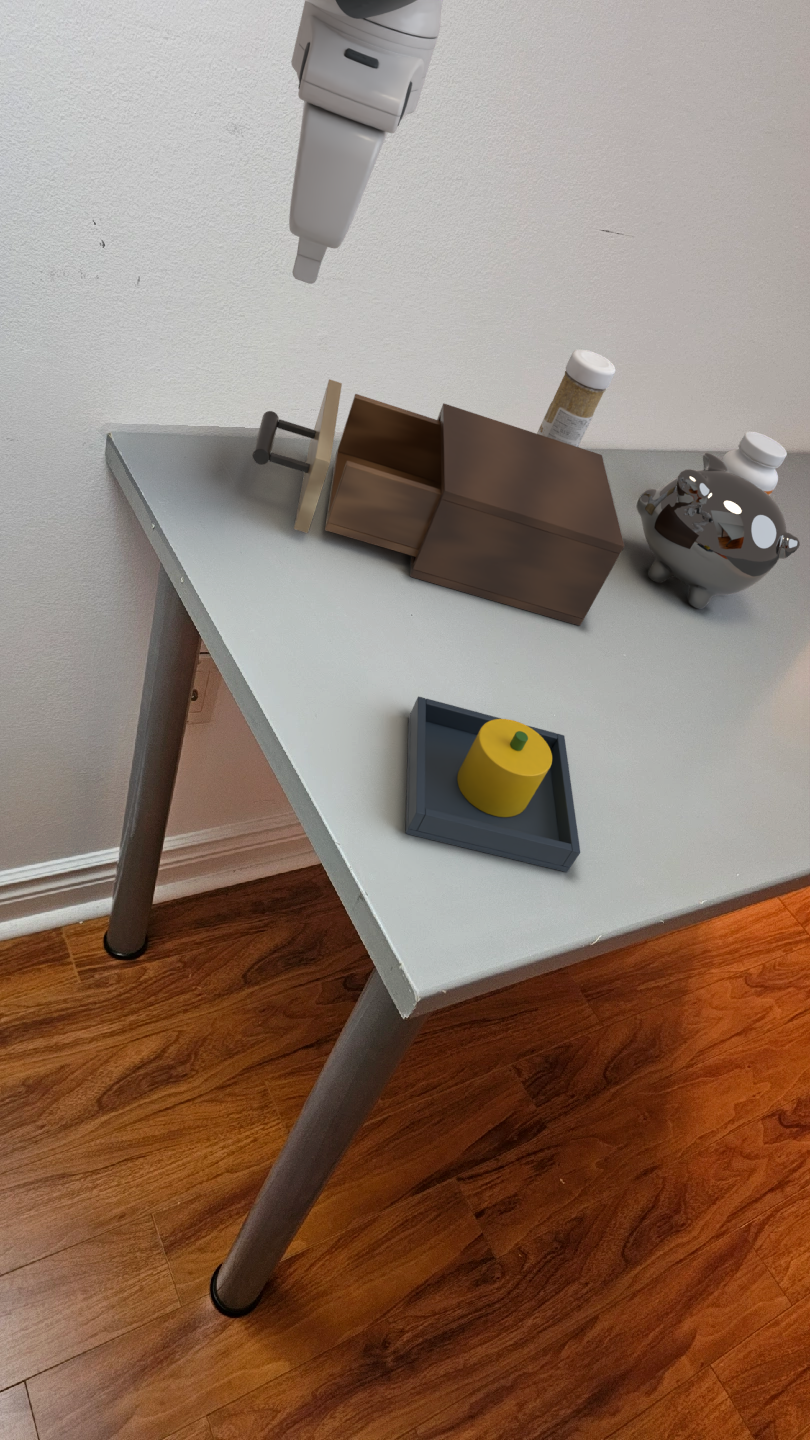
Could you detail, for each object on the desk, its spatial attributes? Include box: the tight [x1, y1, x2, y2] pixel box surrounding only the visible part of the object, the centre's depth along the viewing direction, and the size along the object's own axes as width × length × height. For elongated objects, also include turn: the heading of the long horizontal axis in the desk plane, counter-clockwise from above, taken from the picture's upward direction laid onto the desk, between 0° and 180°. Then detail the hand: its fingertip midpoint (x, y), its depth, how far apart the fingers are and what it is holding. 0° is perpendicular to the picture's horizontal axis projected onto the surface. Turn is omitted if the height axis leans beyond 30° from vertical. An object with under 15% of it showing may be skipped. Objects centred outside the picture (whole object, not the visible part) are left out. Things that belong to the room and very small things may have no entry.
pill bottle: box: [720, 430, 788, 497], centre depth 110 cm, size 6×6×11 cm
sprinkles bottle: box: [536, 348, 616, 447], centre depth 105 cm, size 5×5×13 cm
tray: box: [405, 695, 581, 873], centre depth 72 cm, size 11×11×2 cm
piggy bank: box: [635, 452, 801, 610], centre depth 100 cm, size 11×15×12 cm
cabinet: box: [409, 402, 625, 626], centre depth 93 cm, size 16×16×9 cm
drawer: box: [252, 378, 442, 557], centre depth 91 cm, size 19×14×7 cm
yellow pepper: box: [457, 718, 552, 817], centre depth 70 cm, size 5×5×5 cm
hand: (307, 262), depth 79 cm, fingers open, 5 cm apart
